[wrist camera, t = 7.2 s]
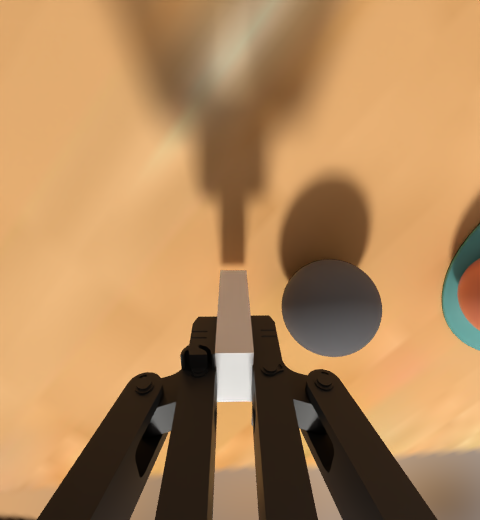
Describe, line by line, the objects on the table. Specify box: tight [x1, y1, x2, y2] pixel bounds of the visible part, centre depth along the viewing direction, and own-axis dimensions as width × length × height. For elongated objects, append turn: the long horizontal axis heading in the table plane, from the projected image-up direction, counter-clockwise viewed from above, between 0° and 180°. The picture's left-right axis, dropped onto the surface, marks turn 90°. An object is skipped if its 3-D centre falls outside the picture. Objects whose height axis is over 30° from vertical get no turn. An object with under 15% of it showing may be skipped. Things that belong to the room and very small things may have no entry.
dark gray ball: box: [282, 259, 382, 357], centre depth 18 cm, size 6×6×6 cm
